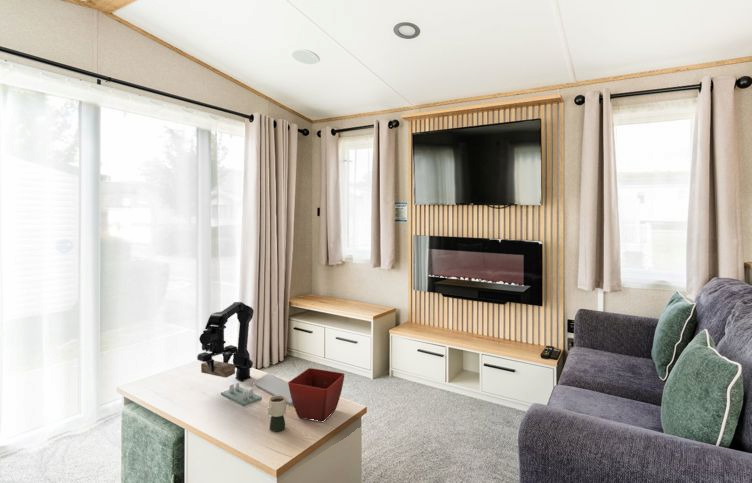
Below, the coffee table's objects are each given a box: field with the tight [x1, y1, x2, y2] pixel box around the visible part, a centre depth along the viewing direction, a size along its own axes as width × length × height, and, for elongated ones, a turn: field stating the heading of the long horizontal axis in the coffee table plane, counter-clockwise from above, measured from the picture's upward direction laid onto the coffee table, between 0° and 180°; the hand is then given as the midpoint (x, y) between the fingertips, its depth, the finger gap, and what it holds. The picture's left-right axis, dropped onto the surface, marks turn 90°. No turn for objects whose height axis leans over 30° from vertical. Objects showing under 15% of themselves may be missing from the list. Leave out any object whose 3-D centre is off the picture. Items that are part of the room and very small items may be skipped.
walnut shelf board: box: [200, 360, 236, 378], centre depth 199 cm, size 16×6×4 cm, turn 67°
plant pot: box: [287, 367, 345, 422], centre depth 181 cm, size 19×19×17 cm
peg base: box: [220, 381, 263, 407], centre depth 198 cm, size 10×20×5 cm, turn 51°
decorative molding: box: [252, 372, 294, 406], centre depth 204 cm, size 34×5×10 cm
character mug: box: [267, 395, 288, 432], centre depth 167 cm, size 11×7×13 cm, turn 152°
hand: (218, 370), depth 199 cm, fingers closed on walnut shelf board, 6 cm apart
